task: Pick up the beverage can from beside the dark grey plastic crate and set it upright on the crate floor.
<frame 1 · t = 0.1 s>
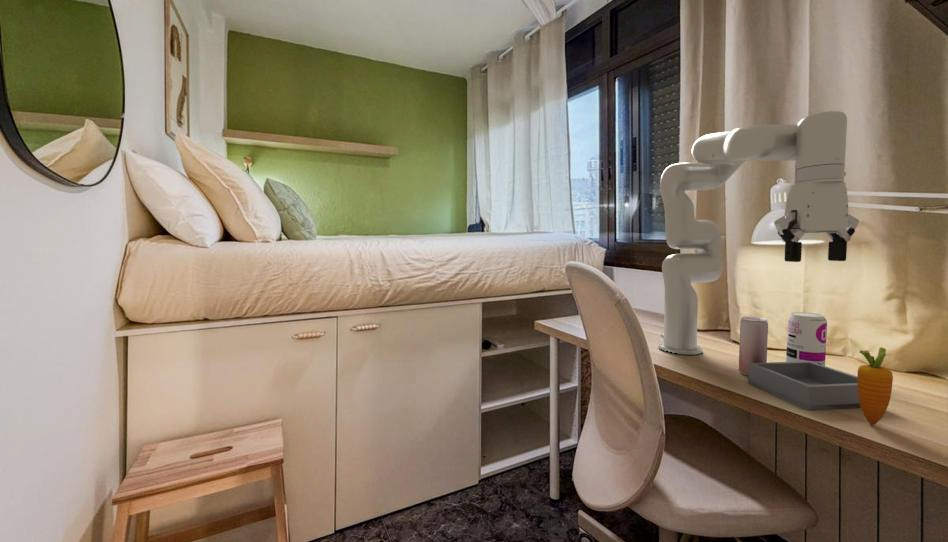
hand: (814, 261, 79), 31 cm above the table, tool pointing down, fingers open, 9 cm apart
supplement can: (804, 368, 106), on the table
crate: (808, 393, 88), on the table
carrot: (871, 425, 73), on the table
beverage can: (752, 374, 102), on the table
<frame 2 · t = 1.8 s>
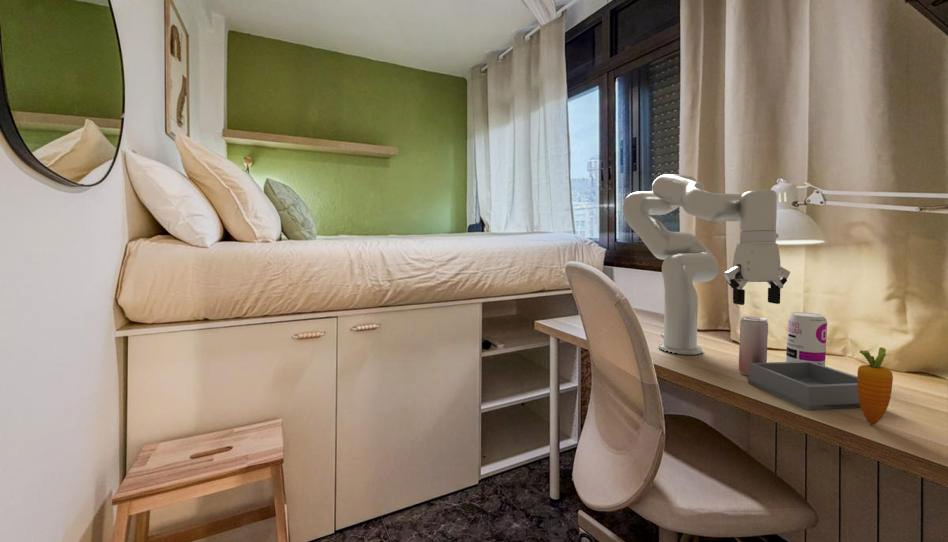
hand: (756, 303, 100), 19 cm above the table, tool pointing down, fingers open, 9 cm apart
nothing on the table moved.
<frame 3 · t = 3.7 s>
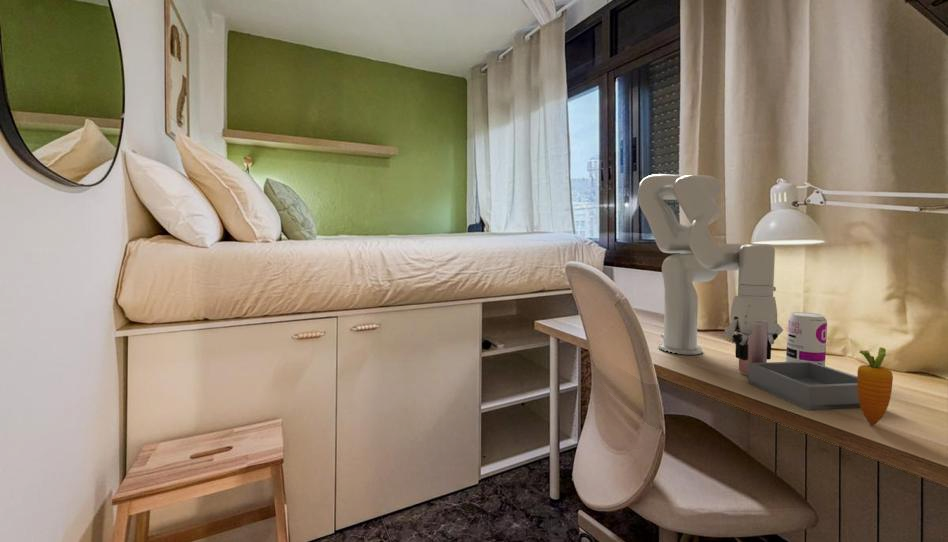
hand: (752, 357, 102), 4 cm above the table, tool pointing down, fingers closed on beverage can, 5 cm apart
beverage can: (752, 374, 102), on the table, touching gripper
everything else where it was.
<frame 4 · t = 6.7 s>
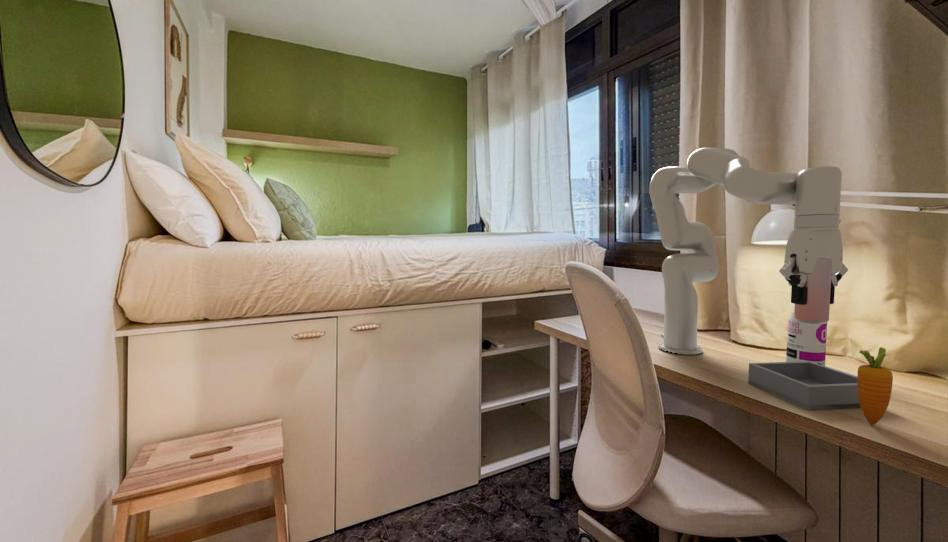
hand: (812, 302, 87), 21 cm above the table, tool pointing down, fingers closed on beverage can, 5 cm apart
beverage can: (810, 322, 87), point 17 cm above the table, touching gripper
everything else where it was.
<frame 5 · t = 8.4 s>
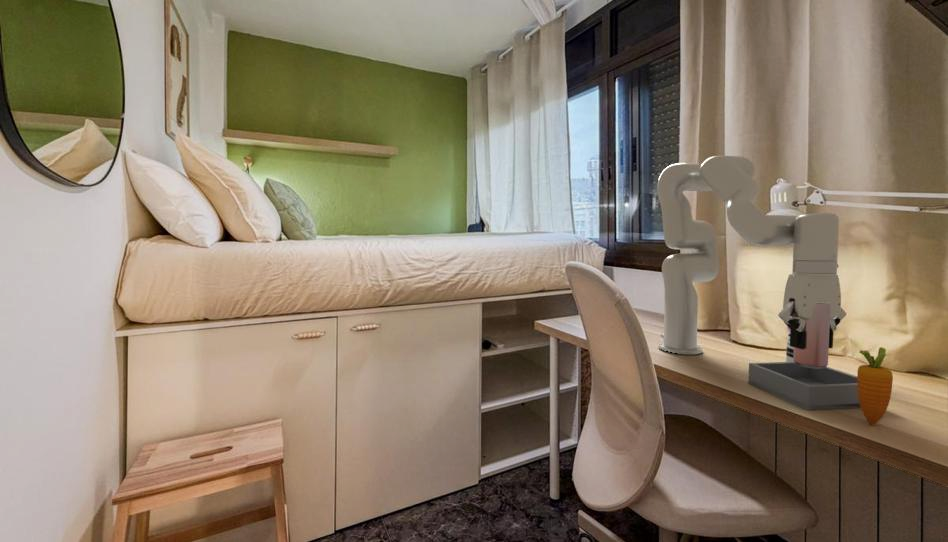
hand: (810, 346, 88), 11 cm above the table, tool pointing down, fingers closed on beverage can, 5 cm apart
beverage can: (810, 366, 88), point 7 cm above the table, touching gripper
everything else where it was.
when the fingers open (7 cm above the table, at t = 9.8 s): beverage can drops 1 cm, resting on crate.
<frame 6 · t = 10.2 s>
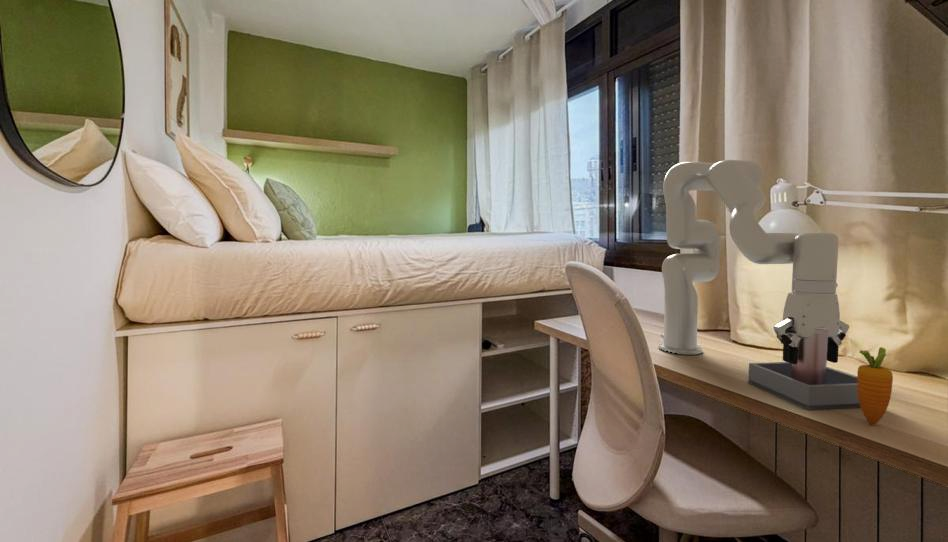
hand: (809, 361, 88), 8 cm above the table, tool pointing down, fingers open, 9 cm apart
beverage can: (807, 390, 89), point 1 cm above the table, touching crate
everything else where it was.
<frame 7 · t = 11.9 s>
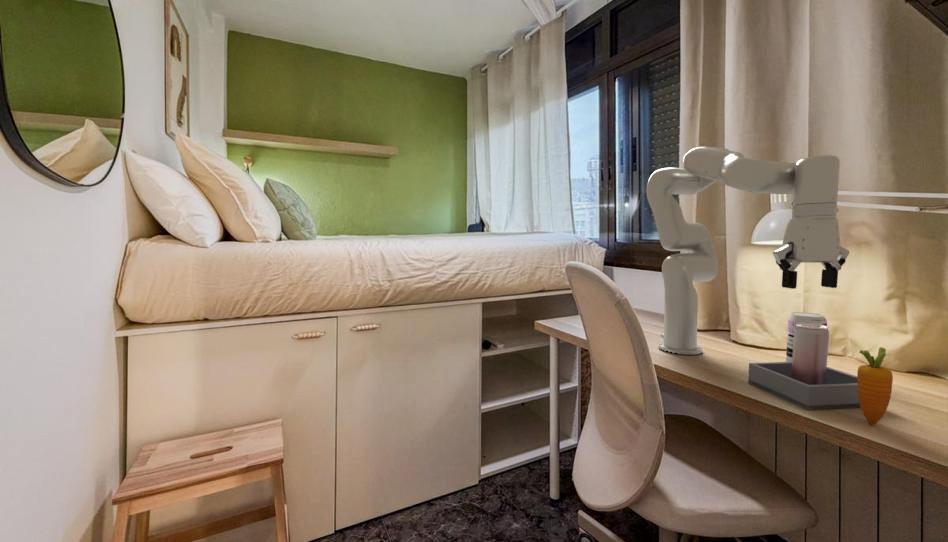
hand: (808, 287, 88), 25 cm above the table, tool pointing down, fingers open, 9 cm apart
nothing on the table moved.
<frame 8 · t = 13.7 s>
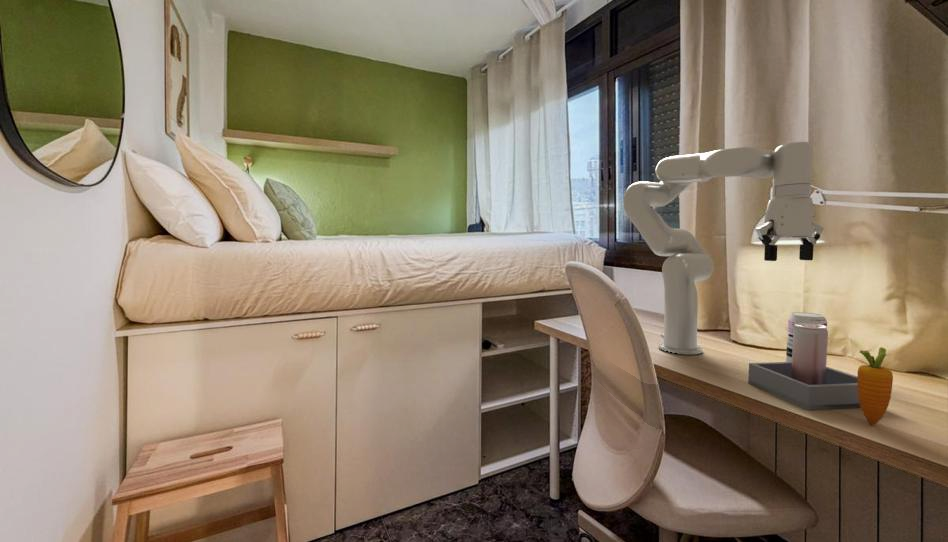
hand: (788, 260, 99), 30 cm above the table, tool pointing down, fingers open, 9 cm apart
nothing on the table moved.
at the end: beverage can inside the target area on the crate (0.2 cm from its centre), point 0.9 cm above the crate's base; beverage can tilted 1°; the gripper is holding nothing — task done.
